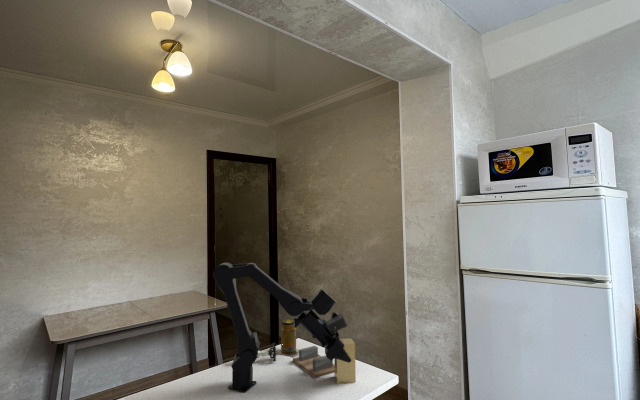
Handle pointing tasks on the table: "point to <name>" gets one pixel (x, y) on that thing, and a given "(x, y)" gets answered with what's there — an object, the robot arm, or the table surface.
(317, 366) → the vise
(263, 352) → the valve
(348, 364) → the brass block
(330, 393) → the table surface
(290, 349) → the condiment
